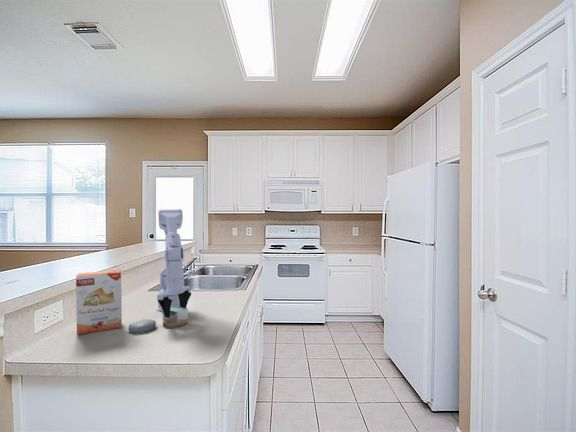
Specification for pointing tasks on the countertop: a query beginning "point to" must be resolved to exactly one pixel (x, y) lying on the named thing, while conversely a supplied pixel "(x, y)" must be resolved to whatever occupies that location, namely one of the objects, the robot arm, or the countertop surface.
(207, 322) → the countertop surface
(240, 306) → the countertop surface
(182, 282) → the robot arm
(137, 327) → the grey stand
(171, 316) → the white and teal box
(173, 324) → the walnut stand
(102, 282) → the cracker box
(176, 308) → the cover plate
